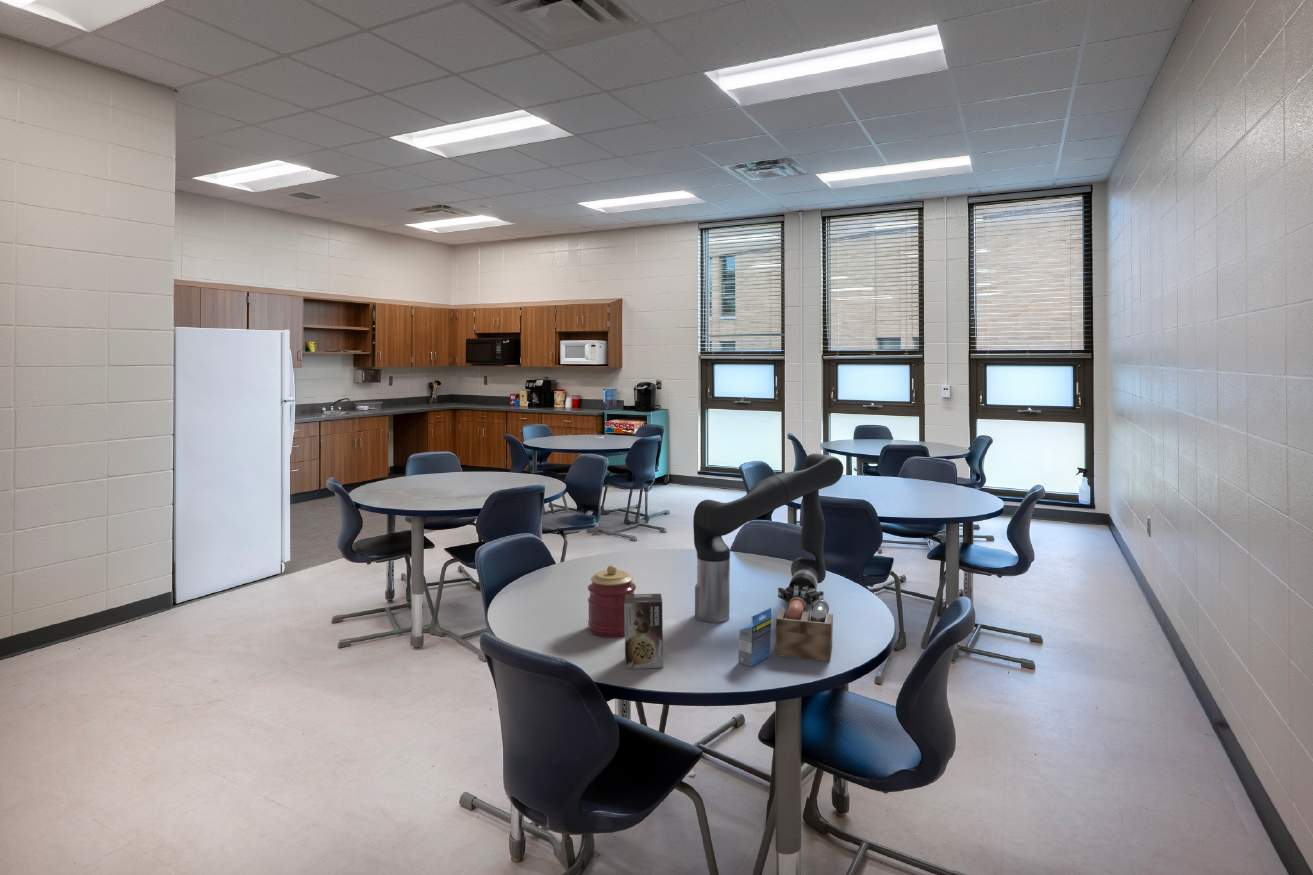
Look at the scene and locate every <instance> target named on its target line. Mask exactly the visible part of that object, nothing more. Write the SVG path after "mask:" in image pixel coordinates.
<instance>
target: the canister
mask: <svg viewBox="0 0 1313 875" xmlns="http://www.w3.org/2000/svg"><path fill="white" fill-rule="evenodd" d="M633 580H634V577H633V575H631V574H629V573H628V572H627V571H625V570H621V569H618V568H617V566H615V565H614V564H613V565H612V564H610V565H609V566H607V568H606V569H603V570H600V571H598V572H596V573H595V574H593V575H592V576H591V577H590V581H591V583H589V584H588V586H587V590H588V592H589V596H588V598H587V602H588V619H587V623H588V624H587V626H588V630H589V632H590V633H591V634H592V635H594V636H598V637H601V638H618V637H625V618H624V597H625V595H626V594H635V590H636V589H637V586H636V584H635V583H634V582H633Z"/></svg>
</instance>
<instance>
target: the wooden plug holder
mask: <svg viewBox="0 0 1313 875" xmlns="http://www.w3.org/2000/svg"><path fill="white" fill-rule="evenodd" d="M810 613H811V612H810V611H804V612H803V613H802V615H801V619H800V620H792V619H786V614H787V611H786V609H780V610H779V612H778V615H777V616H776V619H775V656H778V657H779V656H780V657H788V658H797V659H804V660H805V659H806V660H814V661H822V662H823V661H824V662H831V658H832V652H833V632H834V631H833V625H834V624H833V623H834V622H833V621H834V614H833V613H828V614H827V615H826V619H825V623H823V622H813V621H810V618H811V614H810Z"/></svg>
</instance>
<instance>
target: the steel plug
mask: <svg viewBox="0 0 1313 875" xmlns="http://www.w3.org/2000/svg"><path fill="white" fill-rule="evenodd" d="M829 611H830V605H829V603H828V602H827V601H826V600H824V599H823V600H821V599H819V600H816V601H814V602H813V604H811V614H810V621H813V622H823V623H826V620H827V614H829Z"/></svg>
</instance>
